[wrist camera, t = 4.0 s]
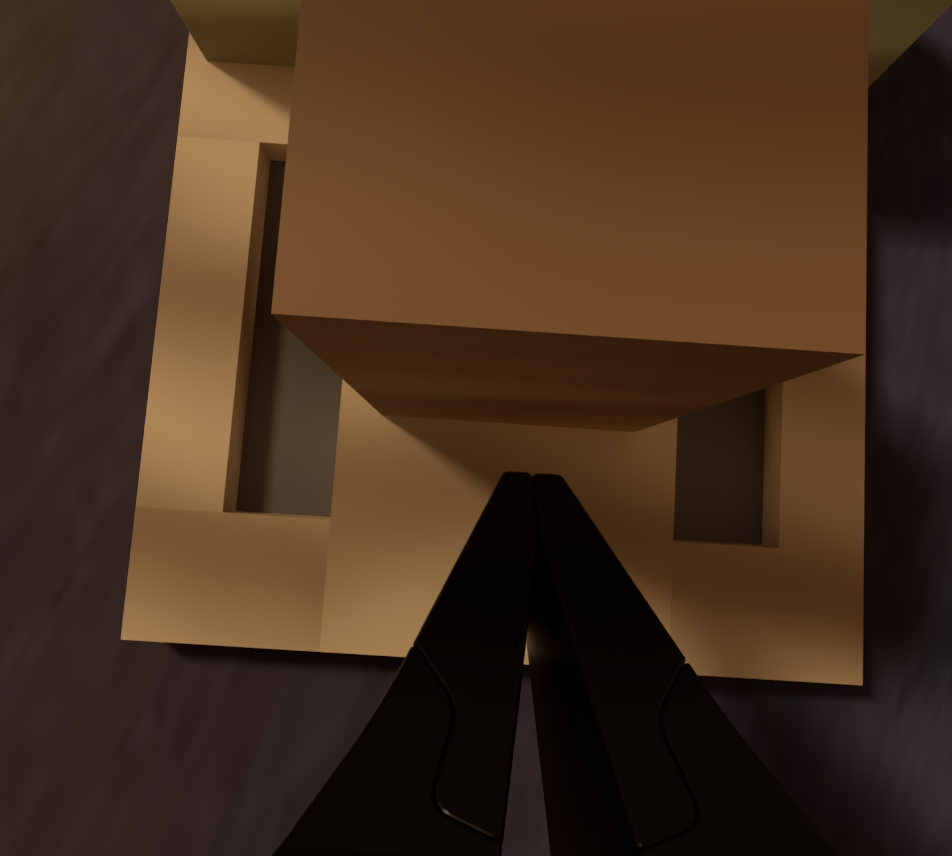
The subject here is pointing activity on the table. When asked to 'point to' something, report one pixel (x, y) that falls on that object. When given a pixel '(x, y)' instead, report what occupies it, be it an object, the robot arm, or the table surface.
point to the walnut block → (575, 203)
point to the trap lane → (448, 440)
